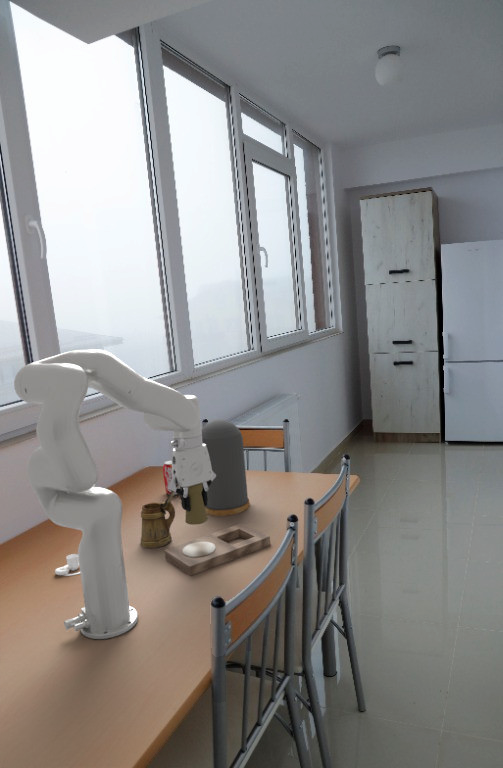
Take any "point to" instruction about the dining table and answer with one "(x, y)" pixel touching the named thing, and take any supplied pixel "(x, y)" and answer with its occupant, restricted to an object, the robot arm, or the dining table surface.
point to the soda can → (168, 475)
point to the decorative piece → (225, 469)
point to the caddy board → (216, 548)
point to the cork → (196, 506)
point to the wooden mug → (157, 523)
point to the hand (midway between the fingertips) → (195, 506)
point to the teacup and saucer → (72, 564)
